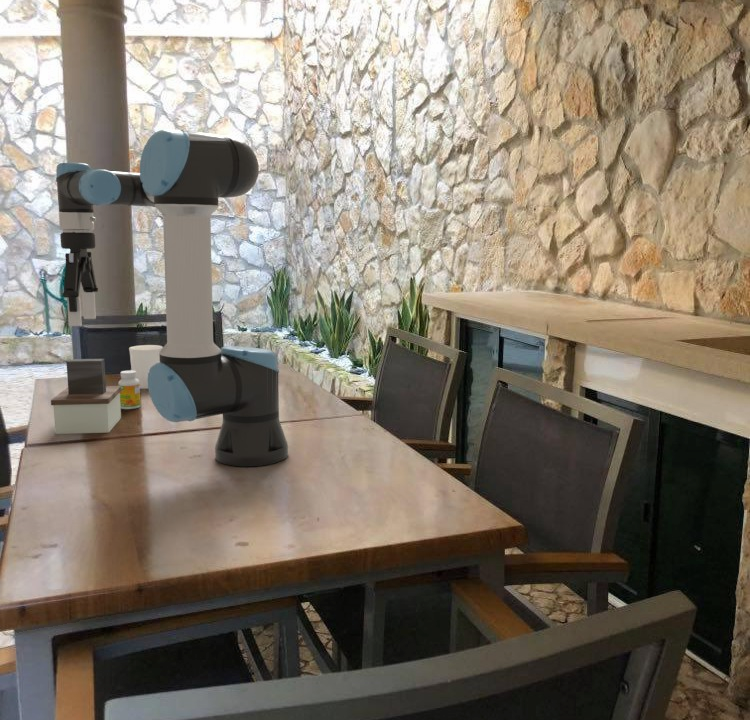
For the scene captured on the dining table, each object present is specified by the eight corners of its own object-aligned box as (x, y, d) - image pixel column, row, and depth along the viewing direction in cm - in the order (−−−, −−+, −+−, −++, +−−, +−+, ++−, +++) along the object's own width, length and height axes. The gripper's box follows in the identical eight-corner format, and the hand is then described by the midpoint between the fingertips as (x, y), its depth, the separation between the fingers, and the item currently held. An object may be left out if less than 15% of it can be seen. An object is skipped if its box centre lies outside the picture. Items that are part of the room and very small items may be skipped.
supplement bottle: (115, 408, 199) (113, 373, 198) (126, 404, 204) (124, 369, 203) (133, 410, 198) (131, 374, 196) (144, 405, 203) (142, 370, 202)
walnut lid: (108, 407, 174) (106, 364, 173) (51, 408, 173) (48, 365, 171) (121, 393, 189) (119, 354, 187) (68, 394, 187) (66, 355, 186)
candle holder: (131, 383, 232) (129, 345, 230) (163, 382, 235) (162, 344, 233) (130, 390, 223) (128, 350, 220) (165, 388, 225) (163, 349, 223)
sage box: (108, 432, 176) (107, 403, 175) (55, 434, 174) (53, 404, 173) (121, 417, 189) (119, 390, 188) (71, 419, 188) (69, 392, 187)
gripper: (80, 232, 162) (86, 328, 166) (106, 231, 187) (110, 316, 190) (44, 231, 161) (50, 329, 165) (74, 231, 186) (80, 316, 189)
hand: (82, 322), depth 178 cm, fingers open, 13 cm apart
